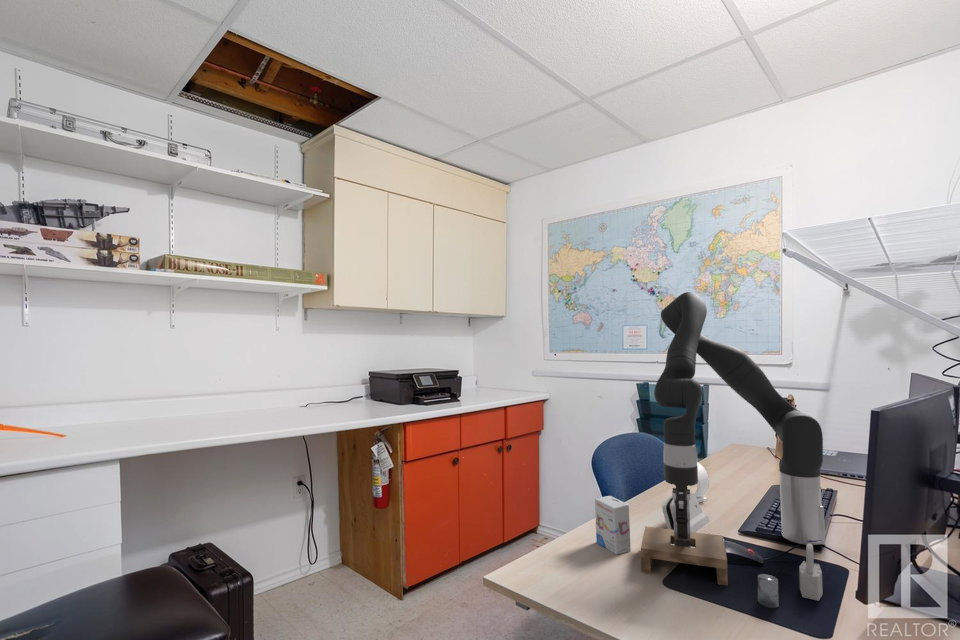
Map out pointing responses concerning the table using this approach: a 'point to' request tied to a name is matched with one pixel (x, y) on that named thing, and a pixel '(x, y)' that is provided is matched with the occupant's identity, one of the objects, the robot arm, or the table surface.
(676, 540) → the long pin
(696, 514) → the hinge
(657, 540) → the wooden stand with hole
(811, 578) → the padlock
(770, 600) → the short pin
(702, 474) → the headphone stand
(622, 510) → the ink box
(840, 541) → the table surface
